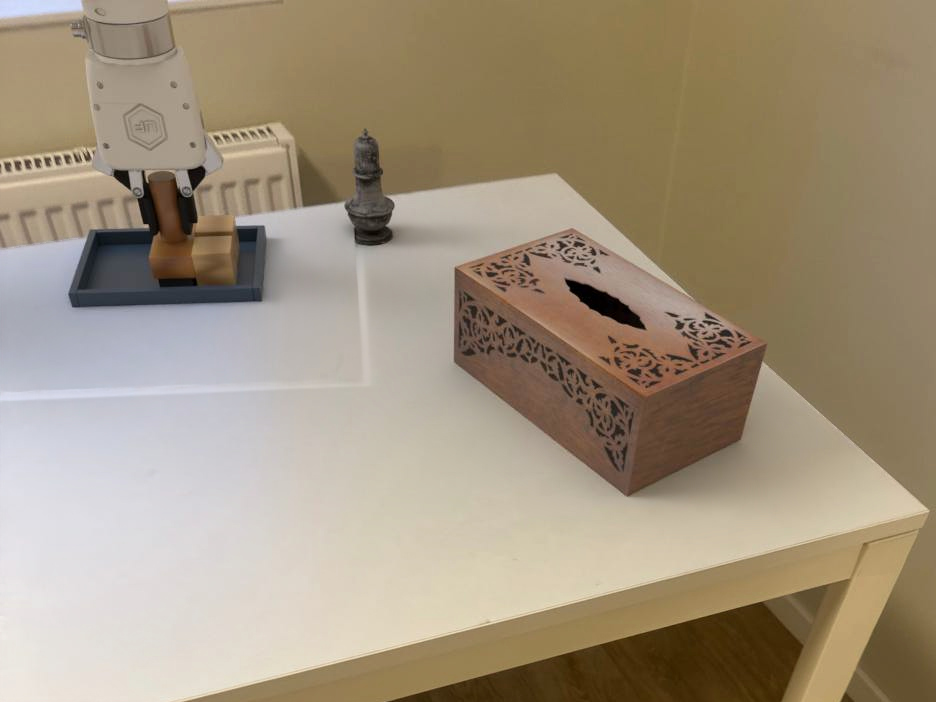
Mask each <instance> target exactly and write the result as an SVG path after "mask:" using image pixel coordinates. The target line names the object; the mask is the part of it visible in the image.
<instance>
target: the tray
mask: <svg viewBox="0 0 936 702" xmlns="http://www.w3.org/2000/svg"><path fill="white" fill-rule="evenodd" d="M236 228H237V234H238V240H239V246H240V253H239V263H238V266H237V269H238V273H237V283H236V285H223V286H198V285H197V280H196V279H195V286H190V287H160V286H159V281H158V279H154V278H153V274H152V270H151V265H150V261H149V255H150V251H151V247H152V242H153V238H154V236H151V234H150V230H149V227H131V228H128V227H127V228H126V227H125V228H97V229H94V228H93V229H91V228H90V229H89V231H88V235H87V237H86V240H85V242H84V245H83V249H82V251H81V254H80V258H79V261H78V262H77V263H78V264H77V266H76V269H75V273H74V275H73V278H72V281H71V284H70V287H69V290H68V293H67V295H68V298H69V302H70V304H71V307H72V308H92V307H93V308H95V307H97V308H98V307H99V308H101V307H127V306H128V307H129V306H158V305H159V306H161V305H162V306H163V305H188V304H189V305H190V304H192V305H193V304H223V303H224V304H225V303H253V302H255V303H256V302H258V303H259V302H263V290H264V278H265V277H264V275H265V263H266V251H267V250H266V249H267V231H266V226H265V225H264V224H263V225H261V224H260V225H258V224H255V225H253V224H252V225H250V224H249V225H236Z"/></svg>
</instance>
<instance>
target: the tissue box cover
mask: <svg viewBox="0 0 936 702" xmlns="http://www.w3.org/2000/svg"><path fill="white" fill-rule="evenodd" d="M453 281H454V283H453V284H454V288H453V290H454V291H453V294H454V295H453V296H454V298H453V299H454V300H453V302H454V303H453V363H455V364H456V365H458V366H459V367H460V368H461V369H463V370H464V371H465V372H466V373H468V374H469V375H470V376H472V378H474V379H475V380H476V381H478V382H479V383H481V384H482V385H483V386H484V387H486V388H487V389H489V391H490V392H492V393H493V394H495V395H496V396H497V397H499V398H500V399H501V400H502V401H504V402H505V403H506V404H507V405H509V406H510V407H512V408H513V409H514V410H515V411H516V412H518V414H520V415H521V416H523V417H524V418H525V419H527V420H528V421H529V422H531V423H532V424H533V425H535V426H536V427H537V428H538V429H540V430H541V431H542V432H543V433H545V434H546V435H547V436H549V437H550V438H551V439H552V440H554V441H555V442H556V443H557V444H559V445H560V446H561V447H563V448H564V449H565V450H566V451H568V452H569V453H571V455H572V456H574V457H575V458H576V459H578V460H580V462H582V463H583V464H585V465H586V466H587V467H588V468H590V469H591V470H592V471H594V472H595V474H598V475H599V476H600V477H601V478H602V479H604V480H605V481H606V482H607V483H609V484H610V485H612V486H613V487H614V488H615V489H617V490H618V491H619V492H620V493H622V494H623V495H624V496H625V497H628V496H630V495H633V494H634V493H636V492H638V491H640V490H642V489H644V488H646V487H648V486H650V485H652V484H653V483H656V482H658V481H660V480H663V479H664V478H666V477H668V476H670V475H672V474H674V473H676V472H678V471H680V470H683V469H684V468H686V467H688V466H690V465H692V464H694V463H696V462H699V461H700V460H702V459H705V458H706V457H708V456H711V455H712V454H714V453H716V452H719V451H720V450H722V449H725V448H726V447H729V446H730V445H732V444H734V443H737V442H738V441H740V440H742V436H743V433H744V429H745V426H746V422H747V419H748V415H749V411H750V408H751V404H752V401H753V397H754V393H755V391H756V387H757V382H758V380H759V375H760V372H761V368H762V365H763V361H764V357H765V354H766V349H767V346H768V342H767V341H766V340H763V339H762V338H760V337H758V336H756V335H754V334H753V333H751V332H750V331H748V330H747V329H744V328H743V327H742V326H739V325H738V324H736V323H735V322H733V321H732V320H731V321H730V320H729V319H728V318H726V317H724V316H723V315H721V314H719V313H717V312H716V311H714V310H712V309H710V308H708V307H707V306H705V305H704V304H702V303H700V302H699V301H697V300H695V299H694V298H692V297H691V296H688V295H687V294H685V293H684V292H682V291H680V290H678V289H677V288H675V287H673V286H672V285H670V284H668V283H666V282H665V281H663V280H662V279H660V278H658V277H656V276H654V275H653V274H651V273H649V272H647V271H646V270H645V269H643V268H641V267H639V266H638V265H636V264H634V263H633V262H631V261H629V260H628V259H626V258H624V257H623V256H620V255H619V254H617V253H616V252H614V251H612V250H611V249H609V248H607V247H605V246H604V245H602V244H600V243H598V242H597V241H595V240H593V239H592V238H590V237H589V236H586V235H585V234H583V233H582V232H580V231H578V230H576V229H575V228H573V227H570V228H568V229H565V230H561V231H560V232H556V233H552V234H549V235H546V236H544V237H540V238H538V239H534V240H531V241H529V242H525V243H523V244H519V245H516V246H513V247H511V248H508V249H505V250H502V251H498V252H495V253H492V254H489V255H486V256H483V257H480V258H478V259H474V260H472V261H468V262H465V263H461V264H459V265H456V266H454V280H453Z"/></svg>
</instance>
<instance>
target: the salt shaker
mask: <svg viewBox="0 0 936 702" xmlns="http://www.w3.org/2000/svg"><path fill="white" fill-rule="evenodd" d="M361 133H362V135H361V136H359V137H357V138H356V139H355V140H354V141H353V156H354V157H353V158H354V167H352V170H351V174H352V176H354V182H355V183H354V185H355V191H354V195H353V196H352V197H349V198H348V199H347V200H345V202H344V210H345V212H347V217H348V218H349V221H350V222H351V224H352V225H353V226H354V227H353V235H354V243H356V244H359V245H363V246H377V245H378V246H380V245H382V244H386V243H388V242H390V241H391V240H392V239H393V238H394V231H393V230H392V229H391V228H390V227H388V226H387V225H389V223H390V221H391V219H392V216H393V211H394V209H395V206H396V205H395V202H394V200H392V199H391V198H390V197H388V196H386V195H384V193H383V190H382V176H383V174H384V170H383V168H382V167H381V165H380V150H379V149H380V148H379V147H380V146H379V142H378V140H377V139H376V138H374V137H372V136H371V135H368V134H369V131H368V129H367V128H366V127H365V128H364V129H363V130H362V131H361Z"/></svg>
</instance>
